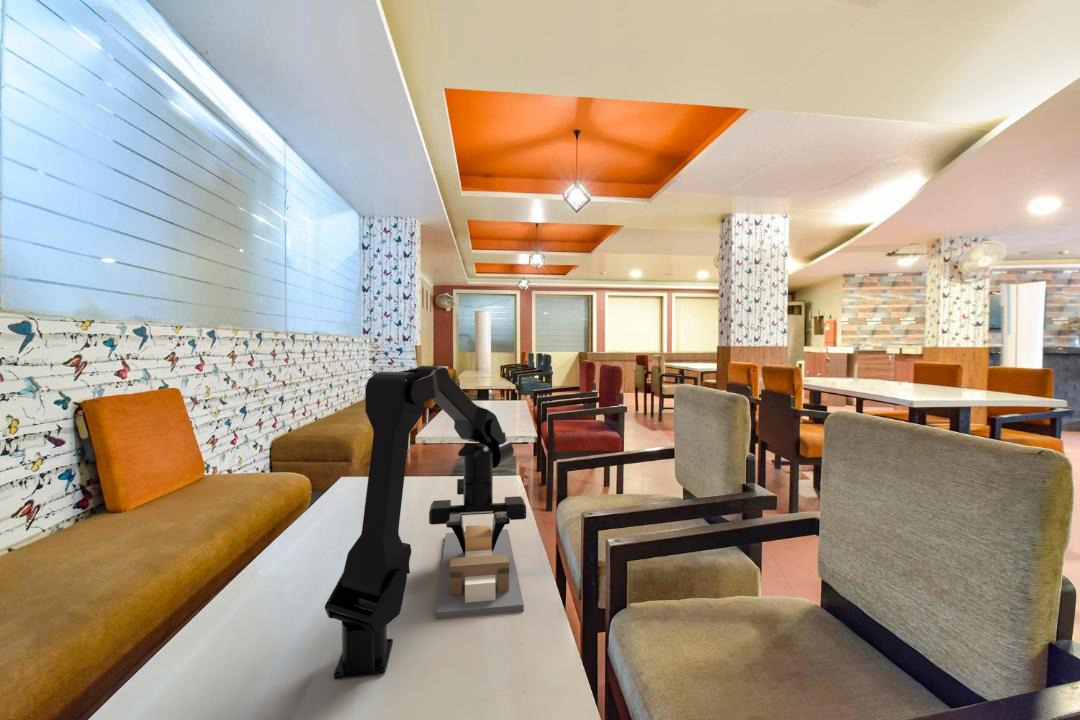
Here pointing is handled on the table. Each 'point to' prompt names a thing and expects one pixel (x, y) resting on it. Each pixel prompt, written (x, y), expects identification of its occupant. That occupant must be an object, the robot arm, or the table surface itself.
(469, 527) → the peach cube cap
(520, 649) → the table surface
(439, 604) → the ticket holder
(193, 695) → the table surface
